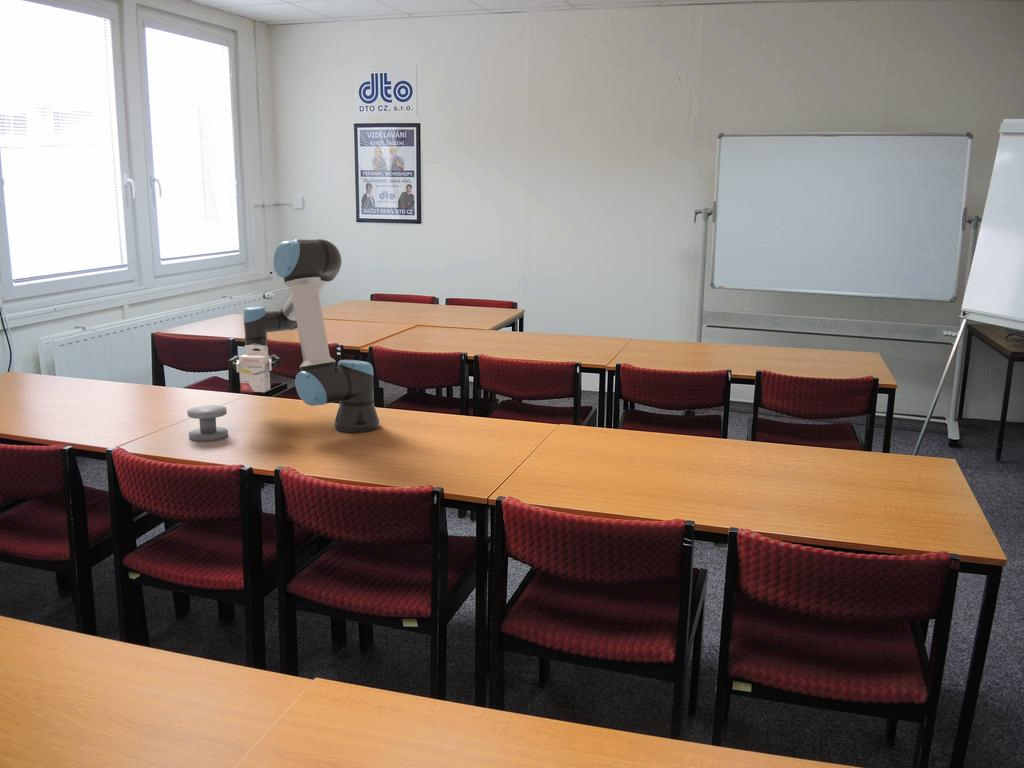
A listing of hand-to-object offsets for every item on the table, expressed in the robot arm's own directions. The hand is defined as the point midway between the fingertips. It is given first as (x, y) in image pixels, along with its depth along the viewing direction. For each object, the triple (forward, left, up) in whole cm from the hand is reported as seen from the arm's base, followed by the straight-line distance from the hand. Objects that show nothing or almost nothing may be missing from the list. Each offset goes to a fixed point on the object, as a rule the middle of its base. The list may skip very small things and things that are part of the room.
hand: (254, 367), depth 268 cm
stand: (+14, +8, -23) cm, 28 cm away
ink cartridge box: (+3, -3, -9) cm, 10 cm away
